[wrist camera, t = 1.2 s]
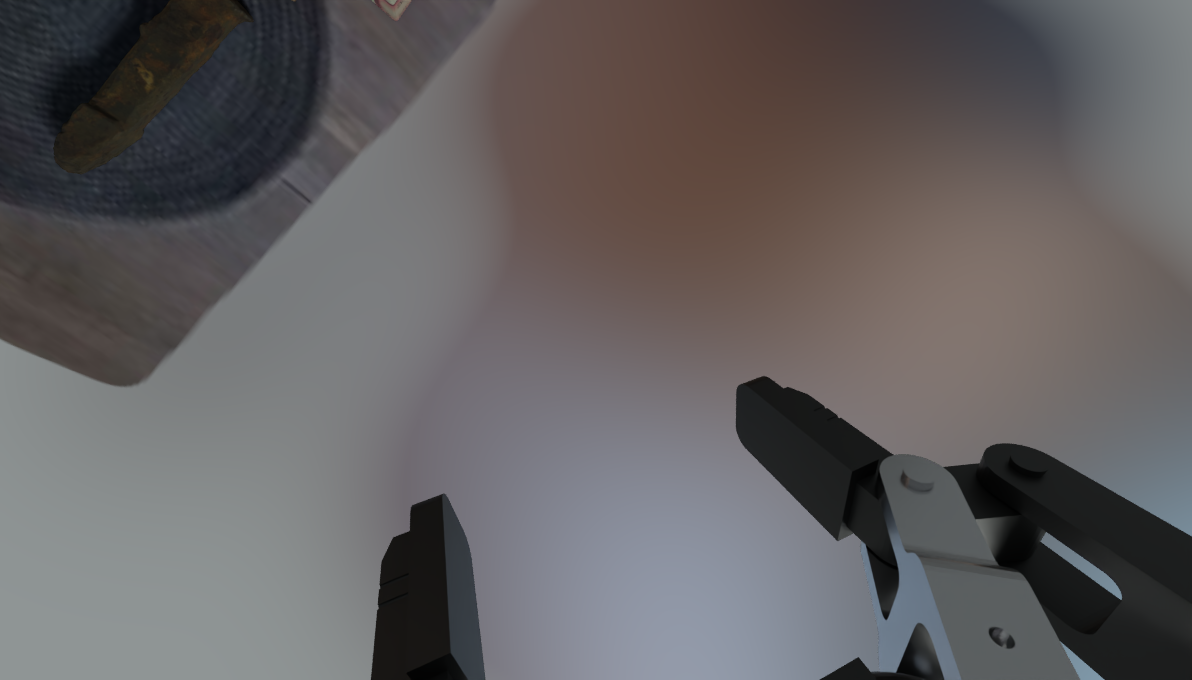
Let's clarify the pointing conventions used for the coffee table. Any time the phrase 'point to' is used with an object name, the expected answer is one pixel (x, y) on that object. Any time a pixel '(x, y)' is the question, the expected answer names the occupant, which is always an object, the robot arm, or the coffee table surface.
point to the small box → (393, 7)
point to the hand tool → (145, 80)
